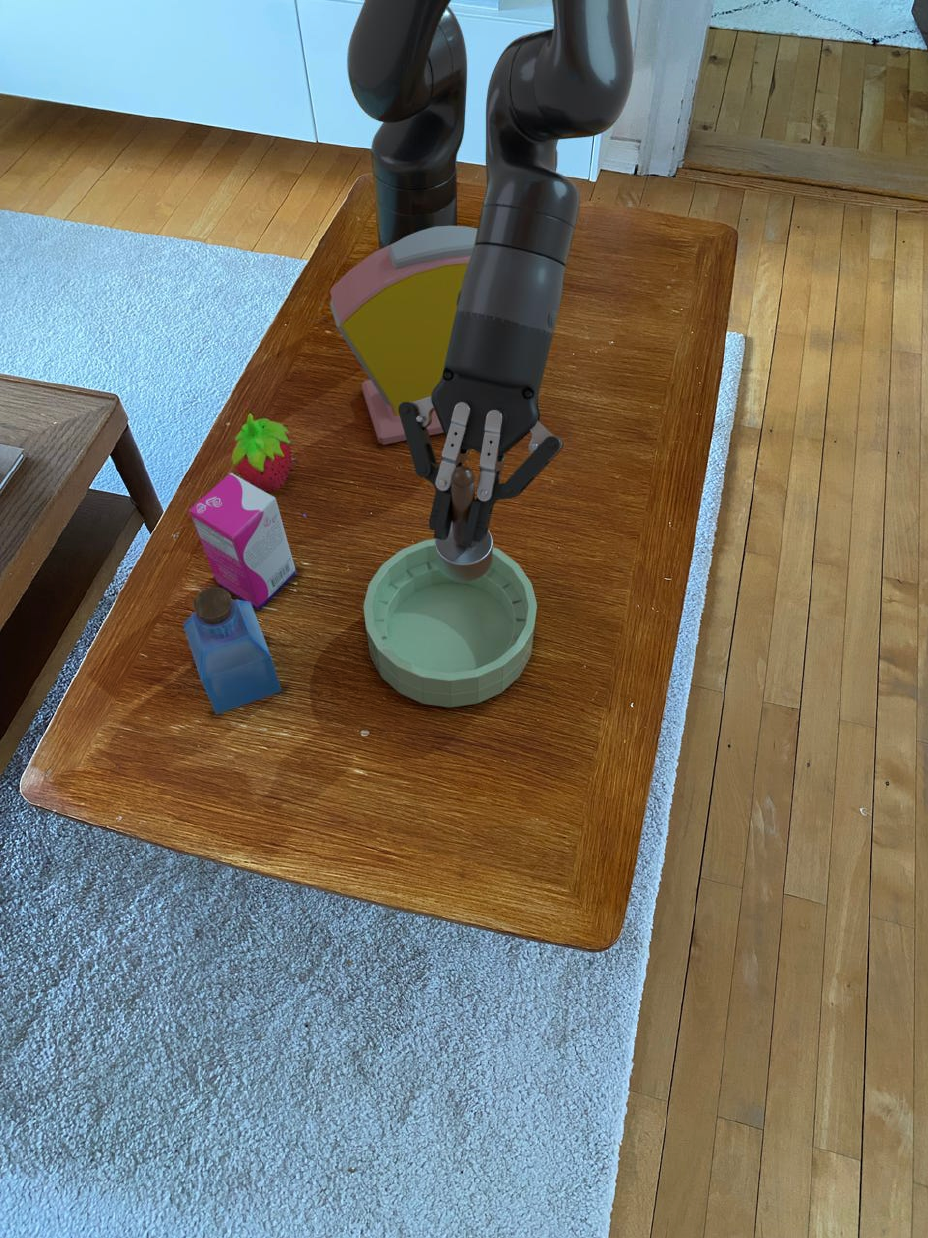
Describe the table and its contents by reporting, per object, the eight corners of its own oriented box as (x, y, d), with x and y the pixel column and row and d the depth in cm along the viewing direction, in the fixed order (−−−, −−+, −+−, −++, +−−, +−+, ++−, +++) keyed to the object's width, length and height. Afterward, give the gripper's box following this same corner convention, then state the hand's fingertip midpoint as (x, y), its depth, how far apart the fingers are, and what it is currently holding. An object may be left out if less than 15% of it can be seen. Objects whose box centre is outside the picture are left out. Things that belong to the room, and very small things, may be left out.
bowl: (360, 582, 96) (355, 548, 92) (515, 562, 98) (517, 528, 93) (378, 721, 88) (374, 691, 83) (547, 697, 89) (552, 666, 85)
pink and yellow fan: (523, 359, 114) (535, 190, 96) (548, 414, 109) (565, 246, 91) (339, 395, 111) (316, 227, 93) (356, 453, 106) (335, 287, 88)
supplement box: (253, 545, 99) (231, 468, 89) (298, 573, 97) (279, 497, 87) (213, 583, 96) (186, 508, 87) (258, 612, 94) (235, 539, 85)
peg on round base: (431, 540, 83) (426, 451, 74) (486, 532, 83) (488, 442, 74) (440, 585, 80) (436, 498, 71) (497, 577, 81) (500, 489, 72)
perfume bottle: (198, 660, 91) (166, 586, 81) (262, 638, 93) (238, 563, 83) (216, 714, 88) (184, 644, 78) (281, 691, 89) (259, 619, 79)
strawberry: (229, 504, 102) (208, 436, 93) (259, 454, 106) (242, 385, 97) (280, 518, 101) (263, 450, 92) (309, 467, 105) (295, 398, 96)
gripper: (599, 343, 75) (545, 559, 79) (432, 307, 78) (388, 517, 82) (589, 332, 68) (530, 570, 72) (405, 292, 71) (357, 524, 74)
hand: (454, 541), depth 77 cm, fingers closed on peg on round base
